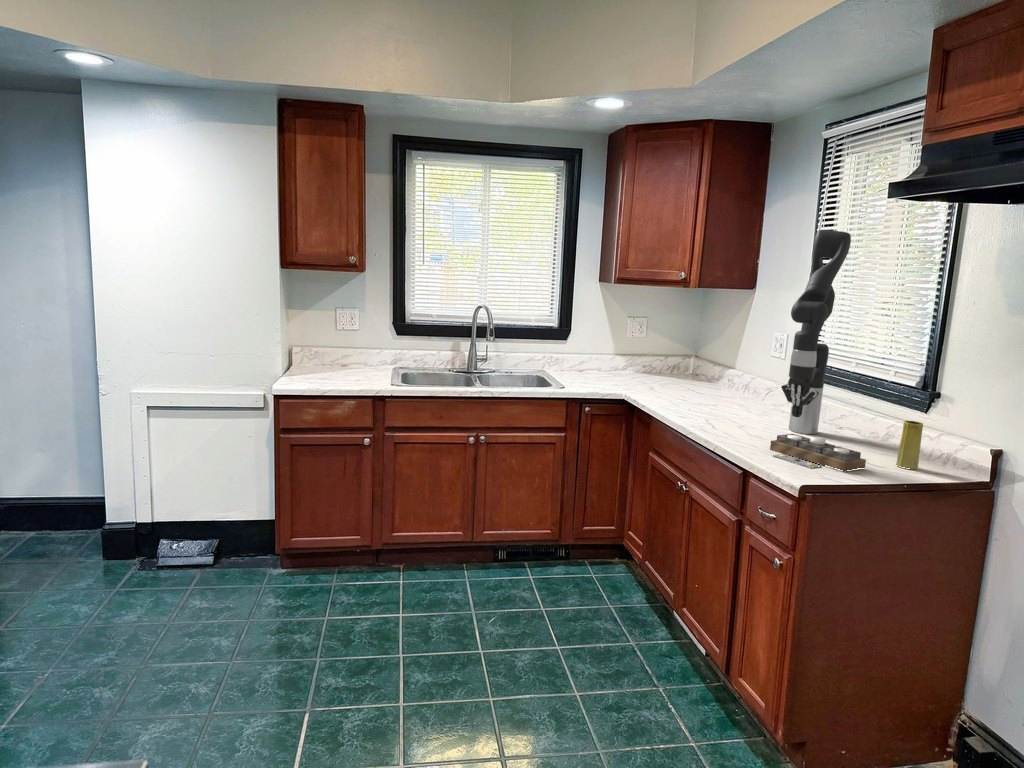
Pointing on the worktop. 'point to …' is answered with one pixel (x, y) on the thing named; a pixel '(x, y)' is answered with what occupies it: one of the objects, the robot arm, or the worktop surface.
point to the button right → (842, 450)
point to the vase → (910, 445)
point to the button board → (818, 453)
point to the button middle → (817, 441)
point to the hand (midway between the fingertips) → (796, 416)
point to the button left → (794, 437)
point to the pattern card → (796, 460)
